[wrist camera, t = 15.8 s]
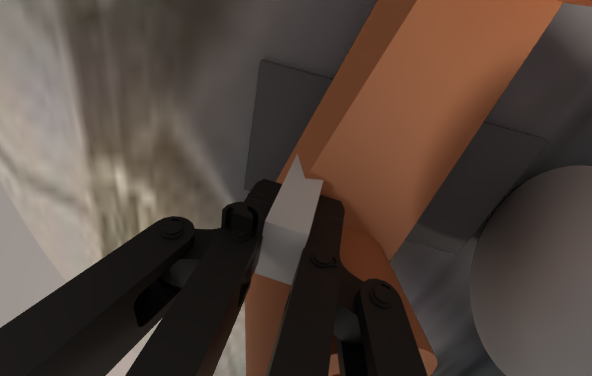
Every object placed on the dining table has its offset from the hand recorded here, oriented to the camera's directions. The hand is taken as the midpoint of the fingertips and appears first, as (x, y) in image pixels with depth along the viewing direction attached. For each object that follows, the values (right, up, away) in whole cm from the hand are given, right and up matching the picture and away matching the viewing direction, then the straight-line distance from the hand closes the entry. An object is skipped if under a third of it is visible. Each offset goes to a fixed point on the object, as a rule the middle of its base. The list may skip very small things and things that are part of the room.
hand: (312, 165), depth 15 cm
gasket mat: (+3, 0, +1) cm, 3 cm away
